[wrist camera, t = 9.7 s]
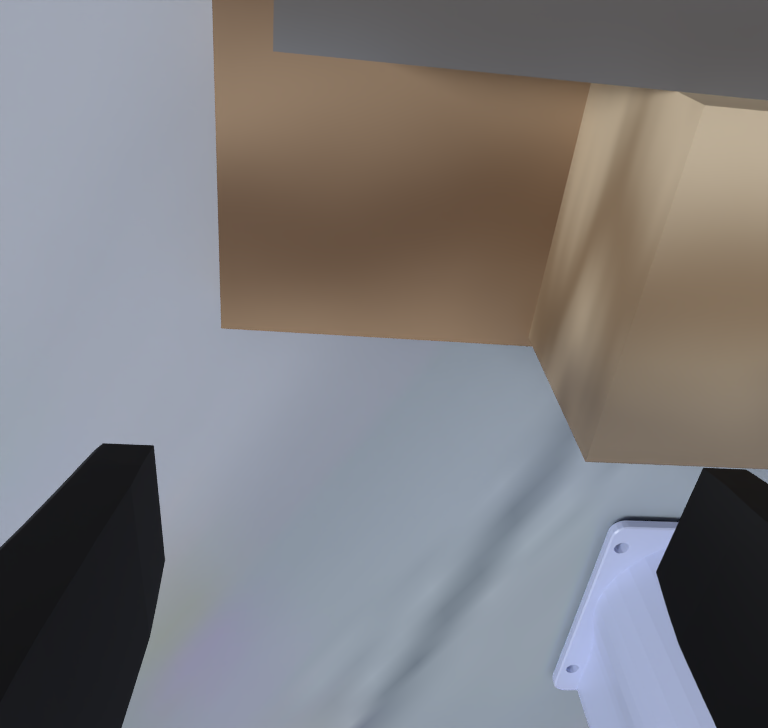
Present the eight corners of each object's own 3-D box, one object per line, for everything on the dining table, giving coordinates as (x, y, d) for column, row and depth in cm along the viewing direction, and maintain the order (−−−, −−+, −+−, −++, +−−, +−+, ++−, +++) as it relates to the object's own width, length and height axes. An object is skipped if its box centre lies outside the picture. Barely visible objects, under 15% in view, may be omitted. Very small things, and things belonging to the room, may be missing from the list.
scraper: (891, 359, 19) (1046, 480, 15) (280, 322, 18) (263, 448, 13) (1101, -2, 15) (1410, 31, 10) (291, -100, 13) (269, -109, 9)
